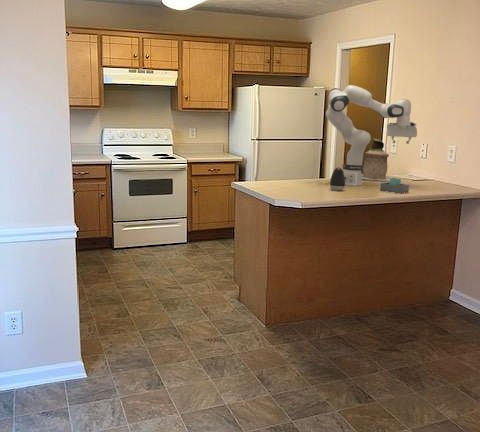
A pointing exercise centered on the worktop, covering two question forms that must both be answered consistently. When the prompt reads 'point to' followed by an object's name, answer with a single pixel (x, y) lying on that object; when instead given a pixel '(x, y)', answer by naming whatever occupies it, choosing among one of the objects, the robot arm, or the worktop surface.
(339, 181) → the black tapered dome
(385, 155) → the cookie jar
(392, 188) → the charcoal crate
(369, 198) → the worktop surface
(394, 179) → the teal crate
